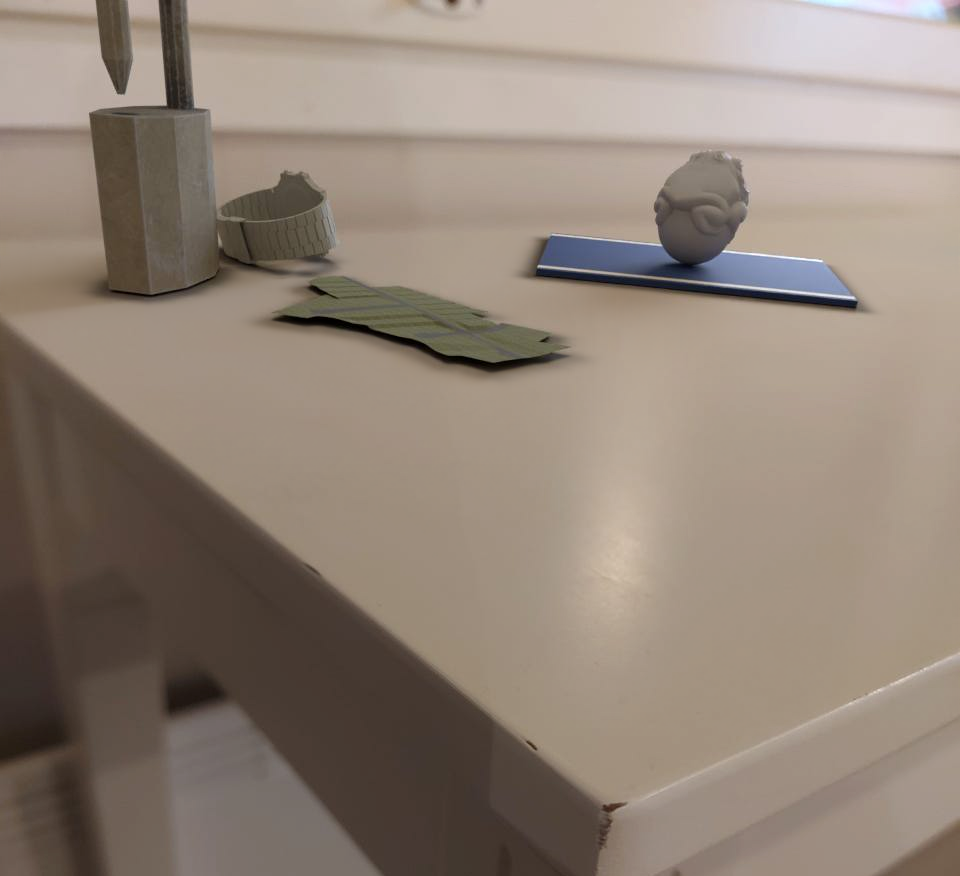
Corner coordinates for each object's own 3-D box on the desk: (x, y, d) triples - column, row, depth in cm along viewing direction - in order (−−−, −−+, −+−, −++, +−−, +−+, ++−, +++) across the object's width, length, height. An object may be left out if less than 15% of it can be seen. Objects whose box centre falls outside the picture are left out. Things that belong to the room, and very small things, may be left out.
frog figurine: (754, 266, 69) (777, 155, 66) (706, 278, 65) (728, 158, 61) (677, 250, 72) (695, 143, 69) (626, 260, 68) (642, 146, 64)
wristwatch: (361, 268, 61) (362, 179, 59) (273, 278, 57) (270, 183, 55) (276, 241, 67) (274, 158, 64) (191, 248, 63) (185, 160, 60)
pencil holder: (95, 288, 52) (52, -60, 45) (169, 261, 59) (143, -45, 51) (165, 298, 52) (134, -54, 44) (232, 269, 59) (216, -39, 51)
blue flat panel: (820, 264, 74) (821, 259, 74) (856, 307, 62) (858, 300, 62) (550, 238, 75) (551, 232, 75) (535, 275, 64) (536, 268, 63)
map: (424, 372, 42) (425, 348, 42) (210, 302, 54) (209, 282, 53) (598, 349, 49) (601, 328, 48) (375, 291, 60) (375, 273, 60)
